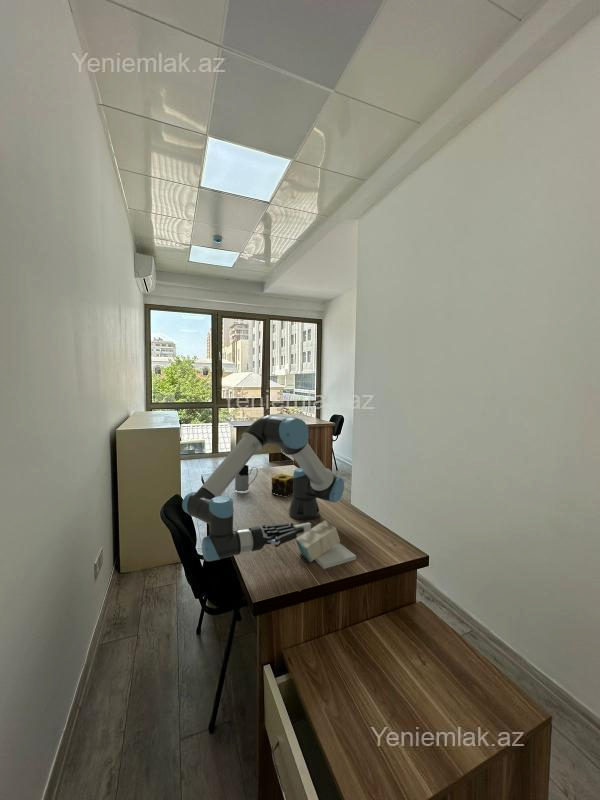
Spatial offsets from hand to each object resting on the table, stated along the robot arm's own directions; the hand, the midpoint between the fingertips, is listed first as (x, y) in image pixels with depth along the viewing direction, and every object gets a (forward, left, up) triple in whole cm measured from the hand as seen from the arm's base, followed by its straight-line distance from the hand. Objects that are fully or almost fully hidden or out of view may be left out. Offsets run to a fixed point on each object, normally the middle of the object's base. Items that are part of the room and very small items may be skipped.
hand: (309, 526), depth 122 cm
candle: (-67, +21, -12) cm, 71 cm away
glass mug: (-81, +3, -12) cm, 82 cm away
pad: (0, +8, -12) cm, 14 cm away
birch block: (0, -3, -9) cm, 9 cm away
